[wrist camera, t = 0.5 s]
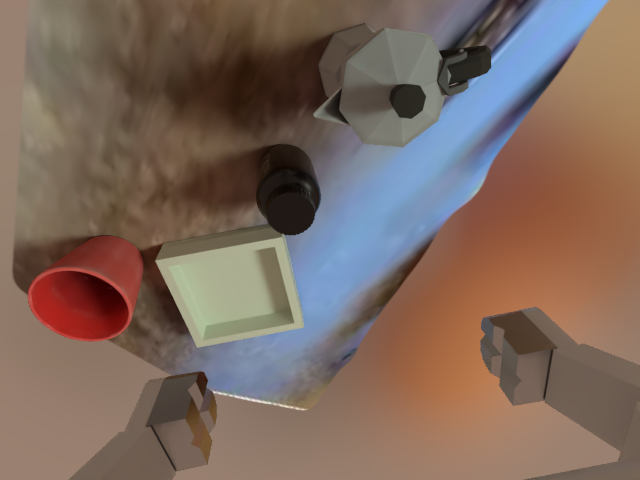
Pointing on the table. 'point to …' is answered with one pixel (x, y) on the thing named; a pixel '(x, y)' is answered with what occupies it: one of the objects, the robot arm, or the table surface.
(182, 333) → the table surface
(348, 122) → the coffee maker
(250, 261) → the tray
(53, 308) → the flower pot
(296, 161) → the supplement bottle
